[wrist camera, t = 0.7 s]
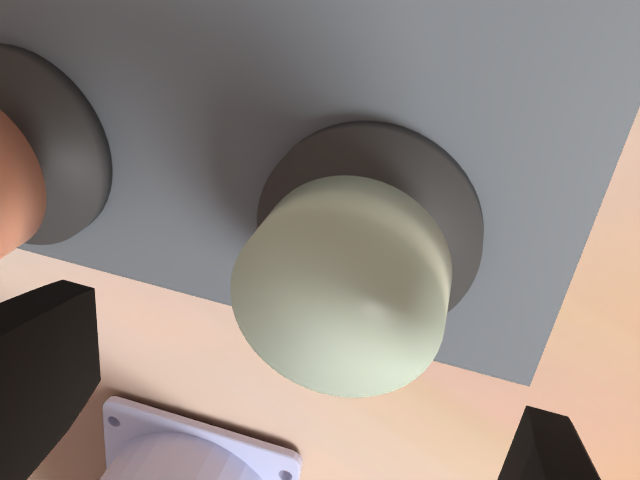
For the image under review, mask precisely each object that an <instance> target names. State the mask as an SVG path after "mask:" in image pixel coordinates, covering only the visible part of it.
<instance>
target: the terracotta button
mask: <svg viewBox="0 0 640 480" xmlns="http://www.w3.org/2000/svg"><path fill="white" fill-rule="evenodd" d="M45 211H46V187H45V181H44V177H43V173H42V170H41V167H40V164H39V162H38V159H37V157H36V155H35V153H34V151H33V149H32V147H31V146H30V144H29V142H28V141H27V139H26V138H25V136H24V135H23V133H22V132H21V131H20V130H19V128H18V127H17V126H16V125H15V124H14V122H13V121H12V120H11V119H10V118H9V117H8V116H7V115H6V114H5V113H4V112H2V111H1V110H0V259H1V258H2V257H4V256H5V255H7V254H8V253H10V252H11V251H13V250H14V249H16V248H17V247H19V246H20V245H22V244H23V243H25V242H26V241H28V240H29V239H30V238H31V237H32V236H33V235H34V234H35V233H36V232H37V230H38V229H39V228H40V226H41V223H42V221H43V219H44V215H45Z"/></svg>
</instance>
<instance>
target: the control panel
mask: <svg viewBox="0 0 640 480" xmlns="http://www.w3.org/2000/svg"><path fill="white" fill-rule="evenodd" d="M639 106H640V0H0V110H1V111H2V112H4V113H5V114H6V115H7V116H8V117H9V118H10V119H11V120H12V121H13V122H14V124H15V125H16V126H17V127H18V128H19V130H20V131H21V132H22V133H23V135H24V136H25V138H26V139H27V141H28V142H29V144H30V146H31V147H32V149H33V151H34V153H35V155H36V157H37V159H38V162H39V164H40V167H41V170H42V173H43V177H44V181H45V187H46V211H45V215H44V219H43V221H42V223H41V226H40V228H39V229H38V230H37V232H36V233H35V234H34V235H33V236H32V237H31V238H30V239H29V240H28V241H26V242H25V243H23V244H22V245H20V246H19V247H17V248H19V249H22V250H26V251H30V252H33V253H37V254H41V255H44V256H48V257H52V258H56V259H59V260H63V261H67V262H70V263H74V264H78V265H81V266H85V267H89V268H93V269H96V270H100V271H104V272H107V273H111V274H115V275H118V276H122V277H126V278H130V279H133V280H137V281H141V282H144V283H148V284H152V285H156V286H159V287H163V288H167V289H170V290H174V291H178V292H181V293H185V294H189V295H193V296H196V297H200V298H204V299H207V300H211V301H215V302H218V303H222V304H226V305H230V306H232V302H231V293H230V283H231V276H232V271H233V268H234V264H235V261H236V259H237V257H238V255H239V253H240V251H241V250H242V248H243V247H244V245H245V244H246V242H247V241H248V240H249V239H250V237H251V236H252V235H253V234H254V232H255V231H256V230H257V229H258V227H259V226H260V225H261V224H262V222H263V221H264V220H265V219H266V217H267V216H268V215H269V214H270V212H271V211H272V210H273V209H274V207H275V206H276V205H277V204H278V203H279V202H280V201H281V200H282V199H283V198H284V197H285V196H286V195H287V194H289V193H290V192H291V191H293V190H294V189H296V188H298V187H299V186H301V185H303V184H305V183H308V182H310V181H313V180H316V179H320V178H324V177H328V176H339V175H348V176H360V177H366V178H371V179H374V180H378V181H381V182H384V183H386V184H388V185H391V186H393V187H395V188H397V189H399V190H401V191H402V192H404V193H406V194H407V195H409V196H410V197H411V198H413V199H414V200H415V201H417V202H418V203H419V204H420V205H421V206H422V207H423V208H424V209H425V210H426V211H427V212H428V213H429V214H430V215H431V217H432V218H433V219H434V220H435V222H436V223H437V225H438V226H439V228H440V230H441V231H442V233H443V235H444V238H445V240H446V242H447V245H448V248H449V252H450V255H451V262H452V283H451V290H450V297H449V303H448V310H447V317H446V324H445V330H444V335H443V340H442V342H441V345H440V348H439V350H438V352H437V354H436V356H435V358H434V359H433V361H437V362H440V363H444V364H448V365H452V366H455V367H459V368H463V369H466V370H470V371H474V372H477V373H481V374H485V375H489V376H492V377H496V378H500V379H503V380H507V381H511V382H514V383H518V384H522V385H526V386H529V387H530V384H531V381H532V379H533V376H534V374H535V371H536V369H537V366H538V364H539V361H540V359H541V356H542V353H543V351H544V348H545V346H546V343H547V341H548V338H549V336H550V333H551V331H552V328H553V325H554V323H555V320H556V318H557V315H558V313H559V310H560V308H561V305H562V303H563V300H564V297H565V295H566V292H567V290H568V287H569V285H570V282H571V280H572V277H573V274H574V272H575V269H576V267H577V264H578V262H579V259H580V257H581V254H582V252H583V249H584V246H585V244H586V241H587V239H588V236H589V234H590V231H591V229H592V226H593V224H594V221H595V218H596V216H597V213H598V211H599V208H600V206H601V203H602V201H603V198H604V196H605V193H606V190H607V188H608V185H609V183H610V180H611V178H612V175H613V173H614V170H615V168H616V165H617V162H618V160H619V157H620V155H621V152H622V150H623V147H624V145H625V142H626V139H627V137H628V134H629V132H630V129H631V127H632V124H633V122H634V119H635V117H636V114H637V111H638V109H639Z"/></svg>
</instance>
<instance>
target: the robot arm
mask: <svg viewBox="0 0 640 480" xmlns="http://www.w3.org/2000/svg"><path fill="white" fill-rule="evenodd" d="M100 380H101V377H100V362H99V347H98V332H97V318H96V303H95V288H92V287H88V286H84V285H81V284H77V283H73V282H69V281H66V280H60V281H57V282H54V283H51V284H48V285H45V286H42V287H40V288H37V289H34V290H32V291H29V292H27V293H24V294H21V295H19V296H16V297H14V298H11V299H9V300H6V301H4V302H1V303H0V480H27V478H28V477H29V476H30V475H31V474H32V473H33V471H34V470H35V469H36V468H37V467H38V466H39V464H40V463H41V462H42V461H43V460H44V458H45V457H46V456H47V455H48V454H49V453H50V451H51V450H52V449H53V448H54V447H55V445H56V444H57V443H58V442H59V441H60V439H61V438H62V437H63V436H64V435H65V433H66V432H67V431H68V430H69V428H70V427H71V425H72V424H73V422H74V421H75V419H76V418H77V416H78V415H79V413H80V412H81V410H82V409H83V407H84V406H85V404H86V403H87V401H88V399H89V398H90V396H91V395H92V393H93V392H94V390H95V388H96V387H97V385H98V384H99V382H100ZM102 410H103V425H104V441H105V456H106V471H105V472H104V474H103V475H102V477H101V478H100V479H99V480H300V475H301V469H302V458H301V457H300V455H299V454H298V453H297V452H295V451H293V450H291V449H287V448H284V447H281V446H278V445H274V444H271V443H268V442H265V441H261V440H258V439H255V438H252V437H248V436H245V435H242V434H239V433H235V432H232V431H229V430H226V429H222V428H219V427H216V426H213V425H209V424H206V423H203V422H199V421H196V420H193V419H190V418H186V417H183V416H180V415H177V414H173V413H170V412H167V411H164V410H160V409H157V408H154V407H151V406H147V405H144V404H141V403H138V402H134V401H131V400H128V399H125V398H121V397H117V396H111V397H109V398H108V399H107V400H106V401H105V403H104V404H103V407H102ZM286 471H288V472H286ZM498 480H601V479H600V477H599V475H598V473H597V471H596V469H595V467H594V465H593V463H592V461H591V459H590V457H589V455H588V453H587V451H586V449H585V447H584V445H583V443H582V441H581V439H580V437H579V435H578V433H577V431H576V429H575V427H574V425H573V424H572V422H571V420H570V419H569V417H567V416H563V415H560V414H556V413H552V412H549V411H545V410H541V409H537V408H534V407H530V406H526V408H525V410H524V413H523V415H522V418H521V421H520V423H519V426H518V428H517V431H516V433H515V436H514V439H513V441H512V444H511V446H510V449H509V451H508V454H507V457H506V459H505V462H504V464H503V467H502V469H501V472H500V475H499V477H498Z"/></svg>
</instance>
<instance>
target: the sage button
mask: <svg viewBox="0 0 640 480" xmlns="http://www.w3.org/2000/svg"><path fill="white" fill-rule="evenodd" d="M451 283H452V262H451V255H450V252H449V248H448V245H447V242H446V240H445V238H444V235H443V233H442V231H441V230H440V228H439V226H438V225H437V223H436V222H435V220H434V219H433V218H432V217H431V215H430V214H429V213H428V212H427V211H426V210H425V209H424V208H423V207H422V206H421V205H420V204H419V203H418V202H417V201H415V200H414V199H413V198H411V197H410V196H409V195H407V194H406V193H404V192H402V191H401V190H399V189H397V188H395V187H393V186H391V185H388V184H386V183H384V182H381V181H378V180H374V179H371V178H366V177H360V176H348V175H339V176H328V177H324V178H320V179H316V180H313V181H310V182H308V183H305V184H303V185H301V186H299V187H298V188H296V189H294V190H293V191H291V192H290V193H289V194H287V195H286V196H285V197H284V198H283V199H282V200H281V201H280V202H279V203H278V204H277V205H276V206H275V207H274V209H273V210H272V211H271V212H270V214H269V215H268V216H267V217H266V219H265V220H264V221H263V222H262V224H261V225H260V226H259V227H258V229H257V230H256V231H255V232H254V234H253V235H252V236H251V237H250V239H249V240H248V241H247V242H246V244H245V245H244V247H243V248H242V250H241V251H240V253H239V255H238V257H237V259H236V261H235V264H234V268H233V271H232V276H231V283H230V293H231V302H232V308H233V311H234V315H235V318H236V321H237V323H238V325H239V328H240V330H241V332H242V333H243V335H244V337H245V338H246V340H247V342H248V343H249V344H250V346H251V347H252V348H253V350H254V351H255V352H256V353H257V354H258V355H259V356H260V357H261V359H262V360H263V361H265V362H266V363H267V364H268V365H269V366H270V367H271V368H272V369H274V370H275V371H277V372H278V373H279V374H281V375H282V376H284V377H285V378H287V379H289V380H291V381H292V382H294V383H296V384H298V385H300V386H303V387H305V388H307V389H310V390H313V391H316V392H319V393H323V394H327V395H331V396H338V397H348V398H362V397H372V396H377V395H382V394H386V393H389V392H392V391H395V390H397V389H399V388H401V387H403V386H405V385H407V384H408V383H410V382H411V381H413V380H414V379H416V378H417V377H418V376H419V375H420V374H422V373H423V372H424V371H425V370H426V368H427V367H428V366H429V365H430V364H431V362H432V361H433V359H434V358H435V356H436V354H437V352H438V350H439V348H440V345H441V342H442V340H443V335H444V330H445V324H446V317H447V310H448V303H449V297H450V290H451Z"/></svg>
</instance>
